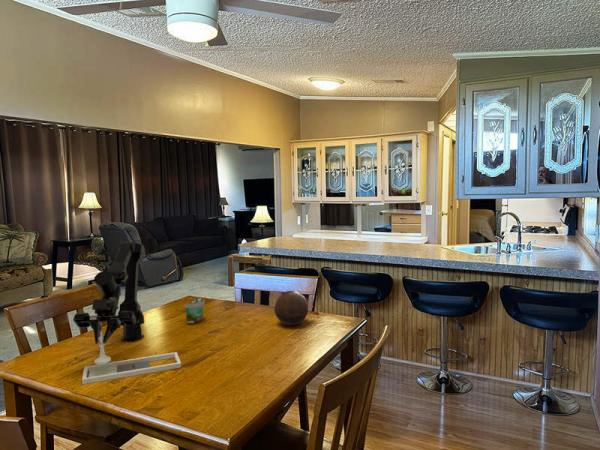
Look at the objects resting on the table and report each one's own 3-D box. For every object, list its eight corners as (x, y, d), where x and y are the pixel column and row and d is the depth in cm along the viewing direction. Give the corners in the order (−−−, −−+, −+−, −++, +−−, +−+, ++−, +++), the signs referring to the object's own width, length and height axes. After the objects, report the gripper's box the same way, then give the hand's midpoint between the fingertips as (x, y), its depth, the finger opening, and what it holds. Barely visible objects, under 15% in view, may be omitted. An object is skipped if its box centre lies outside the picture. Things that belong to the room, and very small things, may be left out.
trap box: (176, 356, 154) (176, 352, 154) (181, 367, 144) (181, 363, 144) (84, 370, 143) (84, 366, 142) (82, 384, 133) (82, 379, 132)
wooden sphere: (313, 327, 185) (313, 293, 184) (281, 331, 180) (281, 296, 178) (300, 317, 199) (300, 286, 198) (270, 321, 193) (269, 289, 192)
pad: (116, 367, 145) (116, 365, 145) (117, 377, 138) (116, 375, 138) (89, 371, 142) (89, 370, 142) (88, 381, 134) (88, 380, 134)
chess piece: (94, 365, 136) (92, 335, 136) (94, 359, 141) (92, 330, 140) (111, 362, 139) (109, 332, 138) (110, 357, 143) (109, 328, 142)
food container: (198, 326, 188) (197, 304, 187) (185, 325, 190) (184, 303, 189) (209, 318, 200) (209, 297, 199) (197, 317, 202) (196, 296, 201)
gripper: (73, 289, 140) (60, 333, 131) (132, 287, 142) (123, 330, 133) (84, 306, 149) (73, 348, 139) (139, 303, 151) (132, 345, 141)
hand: (100, 343), depth 138 cm, fingers closed on chess piece
